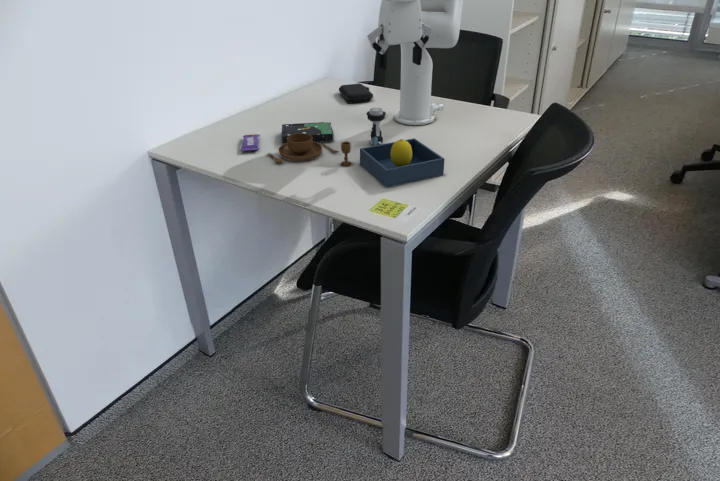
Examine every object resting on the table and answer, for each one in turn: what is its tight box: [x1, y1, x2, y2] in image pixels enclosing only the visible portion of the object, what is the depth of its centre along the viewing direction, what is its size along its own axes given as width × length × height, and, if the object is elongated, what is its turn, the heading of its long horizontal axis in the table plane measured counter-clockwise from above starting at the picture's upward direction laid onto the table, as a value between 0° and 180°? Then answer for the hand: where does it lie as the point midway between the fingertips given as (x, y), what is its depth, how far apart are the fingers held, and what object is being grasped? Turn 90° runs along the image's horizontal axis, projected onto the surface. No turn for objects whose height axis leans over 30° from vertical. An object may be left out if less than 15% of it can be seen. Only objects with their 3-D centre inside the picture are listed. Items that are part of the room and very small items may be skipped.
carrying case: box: [338, 83, 374, 104], centre depth 191 cm, size 11×3×15 cm
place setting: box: [267, 133, 353, 167], centre depth 144 cm, size 18×20×6 cm
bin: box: [359, 137, 445, 188], centre depth 138 cm, size 16×15×4 cm
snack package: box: [240, 133, 261, 152], centre depth 154 cm, size 12×2×5 cm
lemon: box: [390, 138, 412, 167], centre depth 137 cm, size 6×6×8 cm
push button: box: [366, 107, 387, 146], centre depth 151 cm, size 7×5×10 cm
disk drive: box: [281, 121, 334, 145], centre depth 159 cm, size 10×3×15 cm
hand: (399, 66), depth 136 cm, fingers open, 9 cm apart
